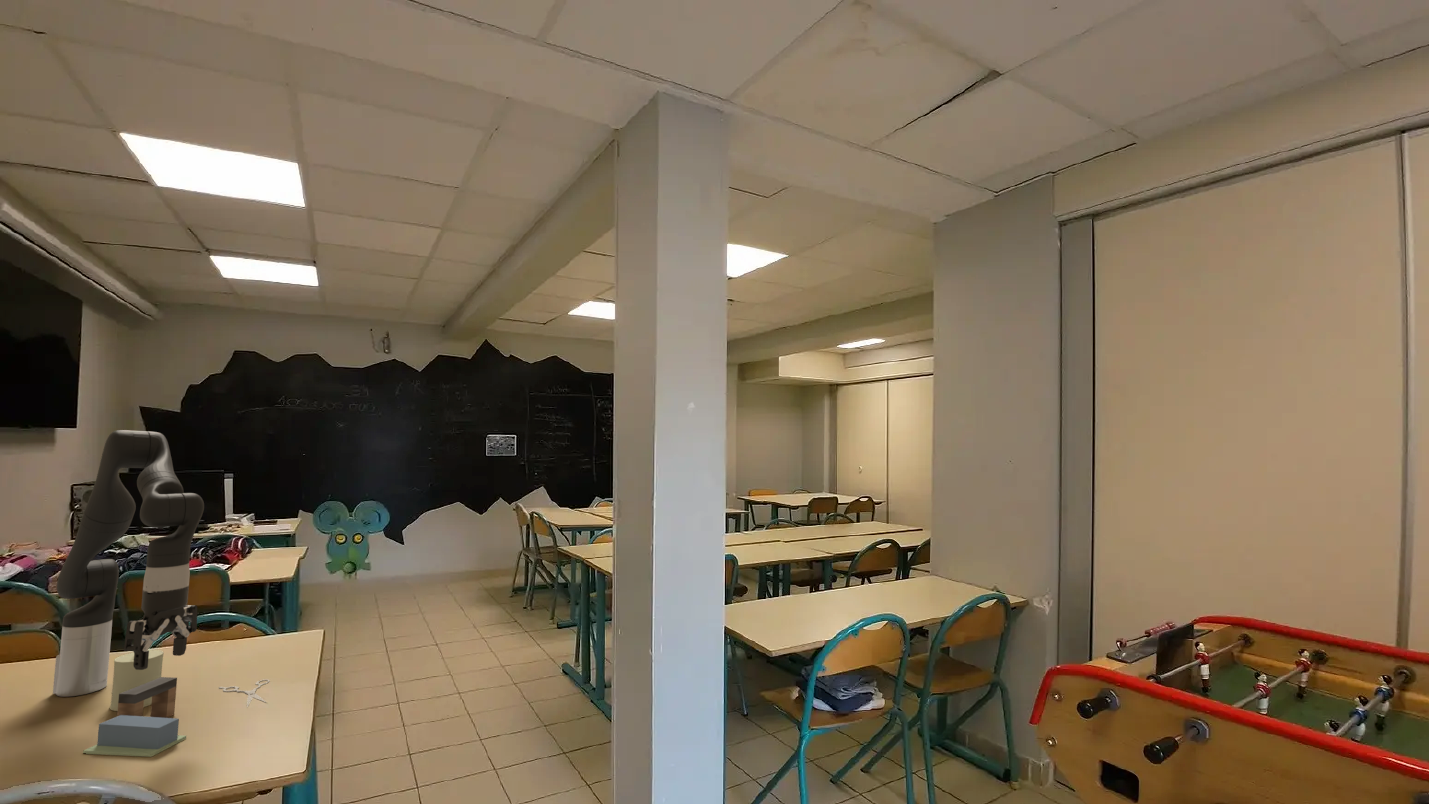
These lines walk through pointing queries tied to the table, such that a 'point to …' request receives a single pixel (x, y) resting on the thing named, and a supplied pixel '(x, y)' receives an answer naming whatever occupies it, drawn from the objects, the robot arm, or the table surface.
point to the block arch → (157, 689)
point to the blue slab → (138, 732)
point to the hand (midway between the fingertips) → (160, 662)
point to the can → (134, 675)
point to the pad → (130, 749)
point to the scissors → (249, 693)
